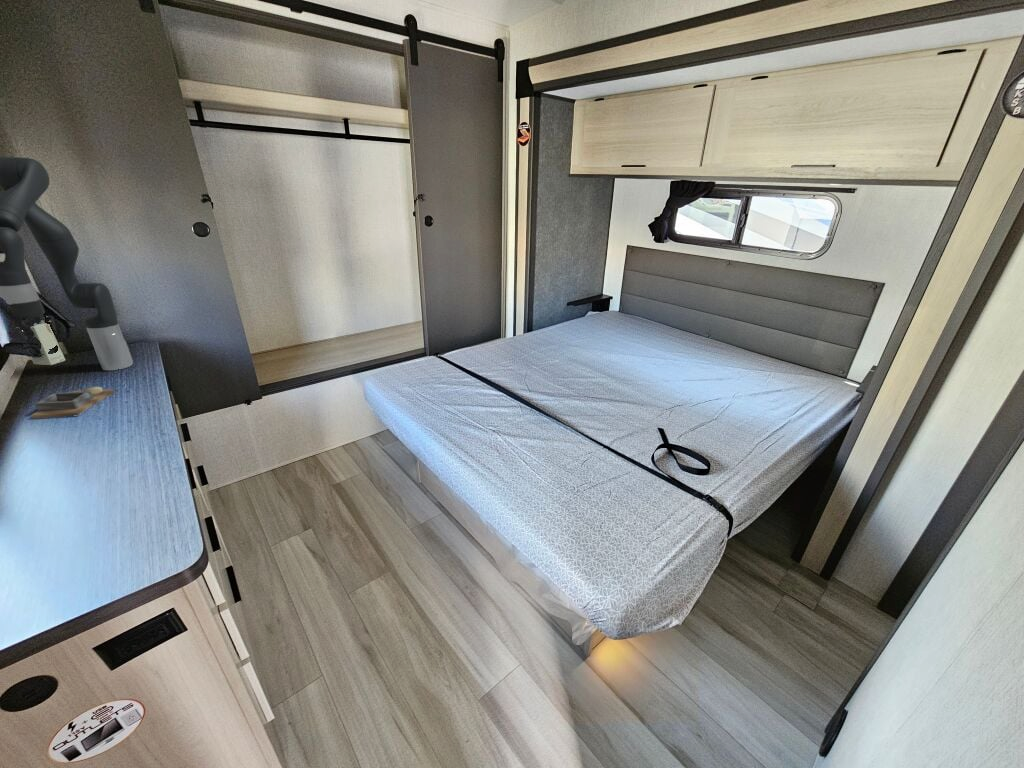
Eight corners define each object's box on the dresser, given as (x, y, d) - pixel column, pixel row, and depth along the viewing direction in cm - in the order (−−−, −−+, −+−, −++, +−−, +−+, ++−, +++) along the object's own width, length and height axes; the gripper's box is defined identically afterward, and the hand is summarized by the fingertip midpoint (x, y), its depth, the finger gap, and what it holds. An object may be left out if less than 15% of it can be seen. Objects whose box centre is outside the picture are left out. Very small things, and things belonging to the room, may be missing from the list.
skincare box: (66, 360, 131) (50, 323, 126) (51, 365, 127) (34, 327, 122) (48, 359, 132) (31, 321, 127) (32, 364, 128) (14, 325, 123)
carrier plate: (74, 393, 144) (70, 384, 143) (114, 392, 147) (111, 382, 145) (32, 418, 128) (26, 408, 127) (78, 416, 131) (73, 405, 129)
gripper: (25, 294, 127) (48, 346, 134) (-18, 305, 114) (9, 362, 121) (54, 294, 128) (76, 346, 135) (15, 305, 116) (41, 361, 123)
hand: (44, 353), depth 128 cm, fingers closed on skincare box, 5 cm apart
